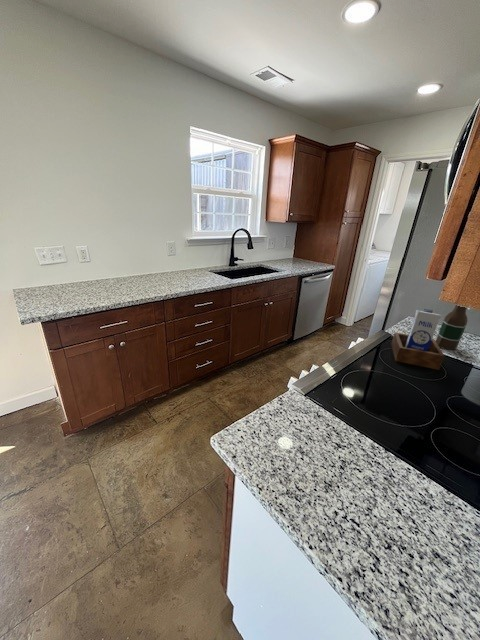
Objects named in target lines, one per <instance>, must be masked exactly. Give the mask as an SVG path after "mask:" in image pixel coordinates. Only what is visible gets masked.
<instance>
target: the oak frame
mask: <svg viewBox="0 0 480 640" xmlns="http://www.w3.org/2000/svg"><path fill="white" fill-rule="evenodd" d="M408 336H409V333H401V332H394V333H393V337H392V340H391V342H390V343H391V344H390V346H391V349H392V353H393V357H394V360H395V362H399V363H404V364H407V365H413V366H418V367H422V368H427V369H432V370H438V371H439V370H440V368H441V366H442V363H443V361H444V359H445V354H444V353H443V351H442V348H441V347H439V346H438V344H437V343H436V339H434V338H432V341H431V343H430V346H429V349H428V351H422V350H417V349H411V348H406V347H405V345H406V342H407V339H408Z"/></svg>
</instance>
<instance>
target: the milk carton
mask: <svg viewBox="0 0 480 640" xmlns="http://www.w3.org/2000/svg"><path fill="white" fill-rule="evenodd" d="M441 317H442V314H438V313H434V310H433V309H428V308H423V310H418V309H416V310H415V315H414V318H413V321H412V324H411V327H410V330H409V332H408V335H409V336H408V339H407V342H406V345H405V347H406V348H411V349H417V350H422V351H428V349H429V346H430V343H431V341H432V339H434V338H433V337H434V335H435V332H436V330H437V327H438V325H439V322H440V319H441Z"/></svg>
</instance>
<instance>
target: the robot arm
mask: <svg viewBox="0 0 480 640" xmlns="http://www.w3.org/2000/svg"><path fill="white" fill-rule="evenodd" d="M466 310H468V312H469V313H471V314H473V313H476V312H478V311H477V310H473V309H470V308H468V307H467V309H466Z"/></svg>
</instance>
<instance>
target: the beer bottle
mask: <svg viewBox="0 0 480 640" xmlns="http://www.w3.org/2000/svg"><path fill="white" fill-rule="evenodd" d="M467 308H468V307H467ZM467 308H465V307H460V306H457V305H456V304H455V306H454V308H453V309H452V310H451V311H450V312H449V313H447V314H446V315H445V316H444V319H443V321H442V323H441V325H440V326H441V327H440V328H439V332H438V334H437V337H436V339H435V341H436V343H437V344H438V346H439V348H440V349H443V350H449V351H454V350H456V349H457V348H458V346H459V344H460V342H461V339H462V337H463V334H464V331H465V329H466V327H467V324H468V316H467V314H466V312H467V310H468V309H467Z"/></svg>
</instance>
